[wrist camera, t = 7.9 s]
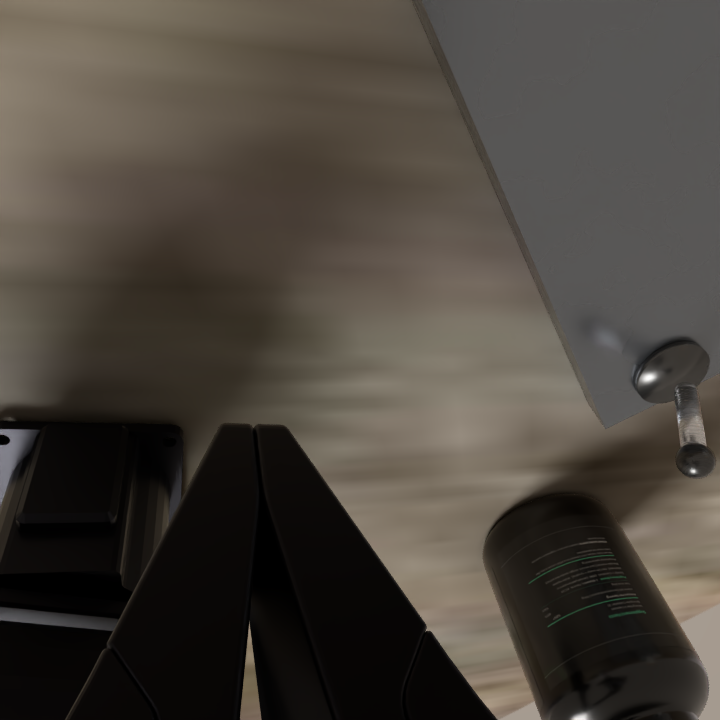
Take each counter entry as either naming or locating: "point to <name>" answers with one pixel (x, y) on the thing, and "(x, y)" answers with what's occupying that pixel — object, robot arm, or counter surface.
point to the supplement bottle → (589, 616)
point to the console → (603, 174)
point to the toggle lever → (691, 434)
